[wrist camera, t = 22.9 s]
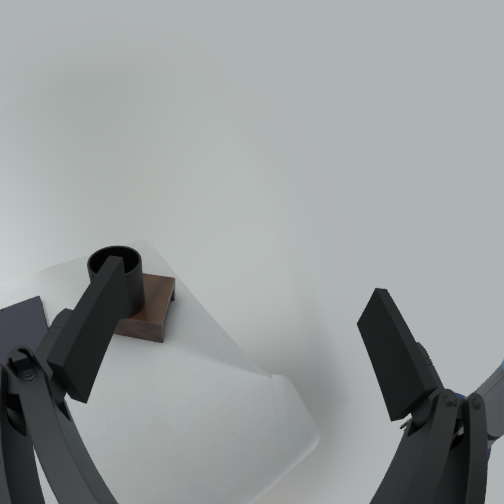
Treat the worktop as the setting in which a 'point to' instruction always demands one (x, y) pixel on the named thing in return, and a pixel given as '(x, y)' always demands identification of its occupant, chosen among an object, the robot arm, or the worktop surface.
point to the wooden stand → (150, 310)
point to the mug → (131, 274)
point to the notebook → (22, 326)
